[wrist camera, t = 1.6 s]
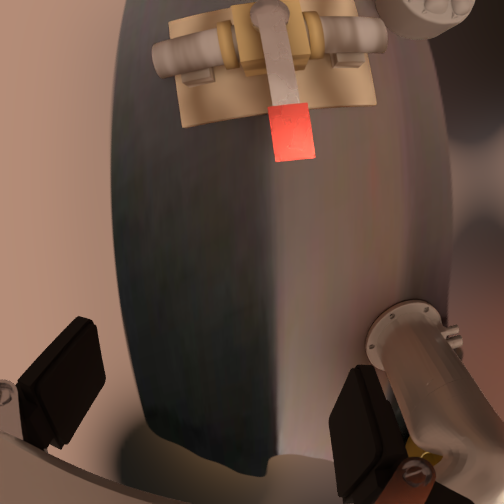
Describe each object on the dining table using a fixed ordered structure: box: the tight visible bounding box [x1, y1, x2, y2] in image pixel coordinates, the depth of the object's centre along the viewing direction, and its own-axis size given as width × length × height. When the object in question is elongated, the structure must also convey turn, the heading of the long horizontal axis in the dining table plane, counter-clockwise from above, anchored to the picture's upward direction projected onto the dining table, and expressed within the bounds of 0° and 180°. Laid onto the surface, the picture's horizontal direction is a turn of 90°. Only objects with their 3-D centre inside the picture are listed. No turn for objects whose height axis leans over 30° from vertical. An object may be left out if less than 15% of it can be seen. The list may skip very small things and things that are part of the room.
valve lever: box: [250, 0, 315, 162], centre depth 20 cm, size 14×3×2 cm, turn 8°
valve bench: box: [152, 0, 388, 128], centre depth 25 cm, size 22×14×11 cm, turn 98°
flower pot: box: [405, 436, 443, 466], centre depth 44 cm, size 9×9×9 cm
